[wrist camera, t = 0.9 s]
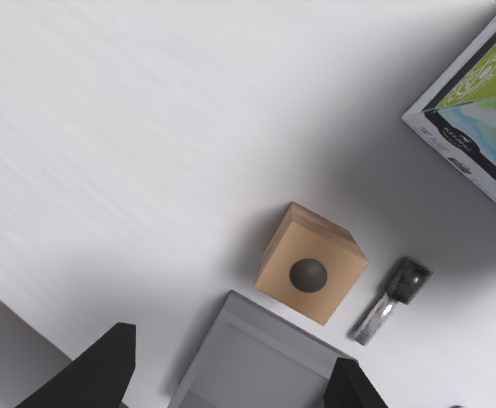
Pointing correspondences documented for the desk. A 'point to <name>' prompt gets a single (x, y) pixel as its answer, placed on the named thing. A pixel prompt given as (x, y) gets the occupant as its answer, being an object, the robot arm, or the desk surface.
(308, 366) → the tray
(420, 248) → the desk surface
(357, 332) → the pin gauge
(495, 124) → the tea box
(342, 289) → the block
